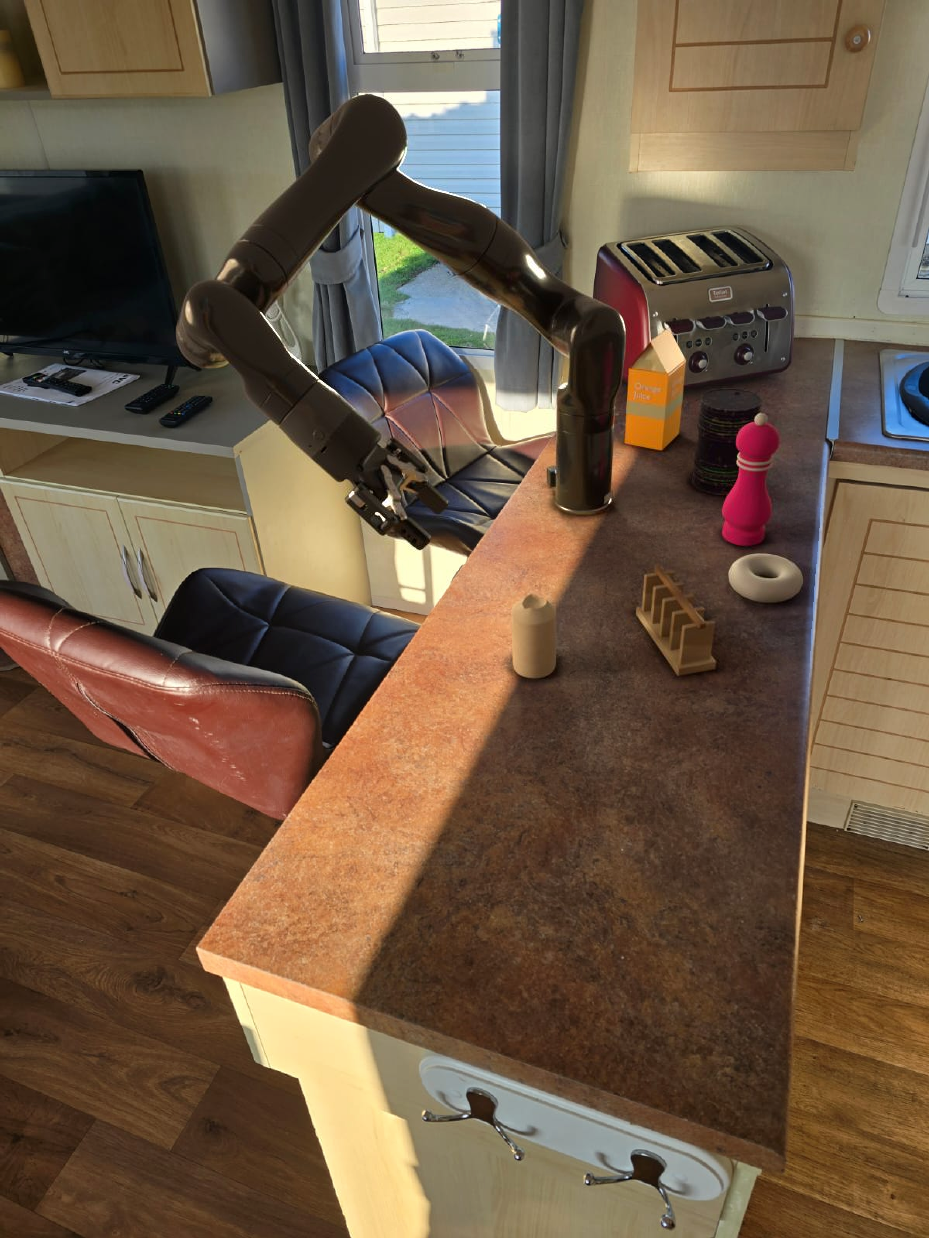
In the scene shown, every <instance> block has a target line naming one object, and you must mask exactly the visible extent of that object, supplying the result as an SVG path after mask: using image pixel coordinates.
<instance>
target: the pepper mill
mask: <svg viewBox="0 0 929 1238" xmlns="http://www.w3.org/2000/svg"><path fill="white" fill-rule="evenodd" d="M768 421H769V418H768V415H766V413H763V412H760V414H758V415H756V417H755V422H752V423H749V424H747V425H745V426H744V427H742V428H741V430H740V431H739V433H738V435H737V439H736V446H737V449H738V450H739V452H740V453H738V456H737V457H738V460H737V465H738V466H739V474H738V479H737V481H736V483H735V485H734V487H733V488H732V490H731V491H730V493H729V494H728V495H726V497H725V500H724V502H723V505H722V509H721V514H722V517H723V519H724V520H725V521H724V522H723V525H722V532H721V534H722V537H723V539H724V540H725V541H727V542H728V543H731V544H733V545H737V546H743V547H748V546H749V547H750V546H756V545H759V544H760V543H762V542H763V541H764V539H765V535H766V526H765V525H766V524H767V523H769V522H770V520H771V518H772V512H773V511H772V510H773V505H772V501H771V497H770V494H769V491H768V489H767V474H768V472H769V469H771V468H772V467H773V461H774V454H775V453H776V452H777V451H778V449H779V447H780V441H781V438H780V437H781V436H780V433H779V431H778V430H777V428H776V427H775V426H774V425H772V424H771V423H768Z"/></svg>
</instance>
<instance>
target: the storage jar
mask: <svg viewBox="0 0 929 1238" xmlns="http://www.w3.org/2000/svg"><path fill="white" fill-rule="evenodd" d="M700 397H701V398H700V406H699V412H698V419H697V420H698V422H697V432H698V434H697V445H696V449H695V451H694V458H693V463H692V474H693V475H692V477H691V483H692V486H693V487H695V488H696V489H698V490H700V491H701V492H706V493H707V494H712V495H719V496H720V495H721V496H728V494H729V493H730V491H731V490H732V488H733V487H734V485H735V483H736V481H737V479H738V474H739V466H738V465H737V460H738V457H737V456H738V453H740V452H739V450H738V449H737V446H736V439H737V435H738V433H739V431H740V430H741V428H742V427H744V426H745V425H747V424H749V423H752V422H755V417H756V415H758V414H760V413H762V407H763V406H762V405H763V398H762V396H761V395H759V394H758V393H756V392H753V391H750V390H748V389H747V390H746V389H742V388H732V387H731V388H729V387H728V388H716V389H712V390H708V391H706V392H704V393H703V394H702V395H701V396H700Z"/></svg>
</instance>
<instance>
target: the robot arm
mask: <svg viewBox="0 0 929 1238" xmlns="http://www.w3.org/2000/svg"><path fill="white" fill-rule="evenodd" d="M407 134H408V133H407V129H406V126H405V122H404V120H403V118H402V115H401V114H400V112H399V111H398V110H397V109H396V108H395V106H394V105H393V104H392V103H391V102H389V101H388V100H387V98H384V97H383V96H381V95H378V94H373V93H361V94H357V95H355V96H352V97H351V98H349V99H347V100H346V101H345V102H343V103H342V104H341V105H340V106H339V107H338V108H337V109H336V110H335V111H333V112H332V114H330V116H329V117H327V118H326V119H324V121H323V122H322V123H320V125H318V127H317V128H316V129H315V131H314V132H313V134H312V135H311V137H310V140H309V143H308V156H309V160H310V163H311V164H310V165H309V166H308V167H307V168H306V169H305V171H304V172H302V174H301V175H299V177H298V178H297V179H296V180H295V181H294V182H292V184H291V185H290V186H289V187H287V188H286V189H285V191H284V192H283V193H281V195H279V196H278V197H277V198H276V199H274V201H273V202H272V203H271V204H270V205H269V206H268V207H267V208H266V209H264V211H262V213H261V214H260V215H259V216H258V217H257V218H255V220H254V222H252V224H251V225H250V226H249V227H248V229H246V231H245V232H244V233H243V235H241V236H240V238H239V239H238V240H237V241H236V242H235V243H234V245H233V246H232V247H231V249H230V250H229V252H227V255H226V256H225V258H224V260H223V262H222V265H221V267H220V269H219V271H218V273H217V275H216V276H215V277H214V278H213V279H211V278H209V279H204V280H200V281H198V282H196V283H194V284H193V285H192V286H191V287H190V288H189V290H188V291H187V293H186V294H185V297H184V299H183V303H182V306H181V308H180V309H181V310H180V311H179V312H180V313H179V315H178V318H177V322H176V325H175V338H176V339H175V340H176V343H177V346H178V348H179V350H180V352H181V354H182V355H183V356H184V358H185V359H186V360H187V361H189V362H190V363H191V364H192V365H195V366H196V367H199V368H201V369H202V368H204V369H218V368H221V367H224V366H226V365H228V364H229V365H230V366H231V367H232V369H234V371H235V372H236V373H237V374H238V375H239V377H240V378H241V382H242V390H243V393H244V396H245V397H246V398H247V399H248V400H249V402H250V403H252V405H254V407H256V408H257V409H258V410H259V411H260V412H261V413H262V414H263V415H264V416H265V417H267V418H268V419H269V420H270V421H271V422H272V423H273V424H275V425H276V426H277V427H278V428H279V429H280V430H281V431H282V432H283V434H285V436H287V438H288V439H289V440H290V441H291V443H293V444H294V445H295V446H296V447H297V448H298V449H300V451H302V452H303V454H305V455H306V456H307V457H309V459H310V460H312V461H313V462H314V463H315V464H316V465H317V466H319V467H320V469H321V470H323V471H324V472H325V473H326V474H327V475H329V477H331V478H332V479H333V480H334V481H336V482H337V483H343V482H345V481H346V480H347V481H349V482H350V483H351V485H352V486H353V488H352V489H351V490H350V492H349V493H348V494H347V495H346V496H345V497H344V501H345V503H346V505H348V506H349V507H350V508H351V509H352V510H353V511H354V512H355V513H356V514H358V516H359V517H360V518H361V519H363V520H364V521H365V523H367V524H368V525H369V526H370V527H371V528H372V529H373V530H374V531H375V532H376V533H377V534H378V535H380V536H383V537H384V536H386V535H387V534H388V533H391V532H395V533H397V534H398V535H399V536H400V537H402V538H403V539H404V541H406V542H407V543H409V545H410V546H411V547H413V548H414V549H416V550H417V551H422V550H424V549H425V548H426V547H427V546H428V545H429V544H430V543H431V541H432V536H431V534H429V532H428V531H426V530H425V529H424V528H423V527H422V526H421V525H419V523H418V522H416V521H415V520H414V519H413V518H412V517H411V516H407V514H406V511H405V509H404V508H403V506H402V504H401V501H402V496H401V494H400V491H407V492H409V493H411V494H415V497H416V498H417V499H418V500H419V501H420V502H421V503H423V504H424V505H425V506H426V507H427V508H428V509H429V510H430V511H432V513H434V514H435V515H441V514H442V513H443V512H444V511H445V510H446V509H447V508H448V506H449V505H450V501H449V500H448V499H447V498H446V497H445V496H444V495H443V494H442V493H441V492H440V491H438V489H437V488H435V487H434V486H433V485H432V484H431V483H430V482H429V477H428V475H427V472H428V471H429V467H428V466H427V464H425V463H424V462H423V461H422V460H421V459H420V458H419V457H417V456H416V455H415V454H414V453H413V452H412V451H411V450H409V449H408V448H407V447H406V446H405V445H404V444H402V442H400V441H399V440H398V439H397V438H395V437H393V436H391V437H390V438H388V440H387V441H386V442H385V443H384V444H383V445H381V444H379V443H380V441H381V439H382V433H381V431H380V430H378V428H377V427H375V426H374V425H373V424H372V423H371V422H370V421H369V420H368V419H367V418H366V417H365V416H364V415H362V414H361V412H359V411H358V410H357V409H356V408H355V407H354V406H353V405H352V404H350V403H349V402H348V401H347V400H346V399H345V398H344V397H343V396H342V395H341V394H340V393H339V392H337V391H336V390H335V389H333V388H332V387H330V386H329V385H328V384H326V383H325V382H324V381H323V380H321V379H320V378H319V377H318V376H316V374H315V373H314V372H313V371H311V370H310V369H309V368H308V367H307V366H306V365H305V364H304V363H303V362H301V361H300V360H299V359H298V358H297V357H296V356H294V355H293V354H292V353H291V352H290V351H289V349H288V347H286V345H285V343H284V342H283V341H282V339H281V337H280V336H279V334H278V333H277V332H276V330H275V329H274V327H273V326H272V324H270V322H269V320H267V317H265V315H266V314H267V312H268V311H269V310H270V308H271V307H272V306H273V305H274V304H275V303H276V302H277V301H278V300H279V299H280V298H281V296H283V295H284V294H285V292H286V291H287V290H288V289H289V287H290V286H291V285H292V283H293V282H294V281H295V280H296V279H297V277H298V276H299V275H300V273H301V272H302V271H303V269H305V267H306V266H307V265H308V263H309V262H310V261H311V259H312V258H313V256H314V255H315V254H316V252H317V251H318V249H320V247H321V246H322V244H323V243H324V242H325V241H326V239H327V238H328V237H329V235H330V234H331V233H332V231H333V230H334V229H335V227H337V225H338V224H339V223H340V221H341V220H342V219H343V218H344V216H345V215H346V214H347V213H348V212H349V211H350V210H352V208H353V207H356V208H358V209H359V210H361V211H362V212H364V213H366V214H368V215H369V216H372V217H373V218H375V219H376V220H378V221H380V222H382V223H383V224H385V225H387V227H390V228H391V229H393V230H394V231H396V232H398V233H399V234H401V235H402V236H403V237H404V238H405V239H407V240H408V241H410V242H411V243H412V244H414V245H416V246H417V247H418V248H420V249H421V250H423V251H424V252H425V253H427V254H428V255H430V256H431V257H432V258H434V259H435V260H437V261H438V262H439V263H441V264H442V265H443V266H444V267H446V268H447V269H448V270H449V271H450V272H451V273H453V274H454V275H456V276H457V277H458V278H460V279H461V280H462V281H464V282H465V283H466V284H468V285H469V286H471V288H473V289H475V290H476V291H478V292H479V293H481V294H482V295H484V296H485V297H487V298H489V299H491V300H492V301H493V302H495V303H498V304H499V305H501V306H503V307H505V308H507V309H509V310H510V311H511V310H512V311H513V312H515V313H516V314H518V316H520V317H522V318H523V320H525V321H526V322H527V323H529V324H530V325H531V326H532V327H533V328H534V330H536V331H537V332H539V334H540V335H541V336H542V337H543V338H545V340H547V342H548V343H549V344H550V345H551V346H552V347H553V348H554V349H555V350H556V351H557V352H558V353H559V354H560V355H562V356H564V357H565V358H567V359H568V377H567V381H565V382H563V383H562V384H560V385H559V387H558V388H557V390H556V399H555V402H556V403H555V405H556V408H555V411H556V413H555V414H556V415H555V416H556V417H555V419H556V420H555V421H556V422H555V424H556V427H555V428H556V429H555V431H556V432H555V465H550V466H546V484H547V485H548V486H549V488H550V489H551V488H555V495H554V504H555V506H556V508H557V509H558V510H559V511H561V512H564V513H566V514H570V515H575V516H592V515H597V514H600V513H603V512H605V511H606V510H608V509H609V508H610V507H611V505H612V498H613V497H614V489H612V482H613V481H612V480H613V479H612V477H613V461H614V460H613V459H614V439H615V418H616V417H615V416H616V401H617V396H618V394H619V391H620V389H621V386H622V381H623V375H624V374H623V373H624V364H625V355H626V345H627V344H626V341H627V334H626V325H625V320H624V318H623V317H622V315H621V313H620V312H619V311H618V310H617V309H615V308H614V307H612V306H610V305H608V304H607V303H604V302H602V301H601V300H598V299H596V298H593V297H592V296H589V295H587V294H585V293H583V292H580V291H579V290H578V289H576V288H574V287H572V286H571V285H569V284H568V283H566V282H565V281H563V280H561V279H560V278H559V277H557V276H555V275H554V274H553V273H552V272H550V271H549V270H548V268H546V267H545V266H544V264H543V263H542V262H541V260H540V259H539V258H538V257H537V255H536V253H535V251H533V249H532V248H531V246H530V245H529V244H528V243H527V241H526V240H525V239H524V238H523V237H522V236H521V235H520V234H519V233H518V232H517V231H516V230H515V229H514V228H512V226H510V224H508V223H507V222H505V221H504V220H503V219H502V218H501V217H499V216H498V215H497V214H496V213H495V212H493V211H492V210H490V209H489V208H488V207H486V206H485V205H483V204H482V203H479V202H478V201H474V200H472V199H469V198H467V197H464V196H460V195H457V194H453V193H449V192H447V191H442V190H438V189H435V188H431V187H428V186H426V185H424V184H422V183H419V182H417V181H415V180H413V179H412V178H410V177H409V176H407V175H406V174H404V173H403V172H402V171H400V169H399V167H400V166H401V165H402V163H403V162H404V159H405V156H406V154H407V148H408V135H407ZM408 463H410V464H408ZM414 467H415V468H414ZM392 510H393V512H392ZM375 515H376V516H380V518H381V520H382V522H381V521H380V520H379V519H378V518H377V517H376V516H375Z"/></svg>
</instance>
